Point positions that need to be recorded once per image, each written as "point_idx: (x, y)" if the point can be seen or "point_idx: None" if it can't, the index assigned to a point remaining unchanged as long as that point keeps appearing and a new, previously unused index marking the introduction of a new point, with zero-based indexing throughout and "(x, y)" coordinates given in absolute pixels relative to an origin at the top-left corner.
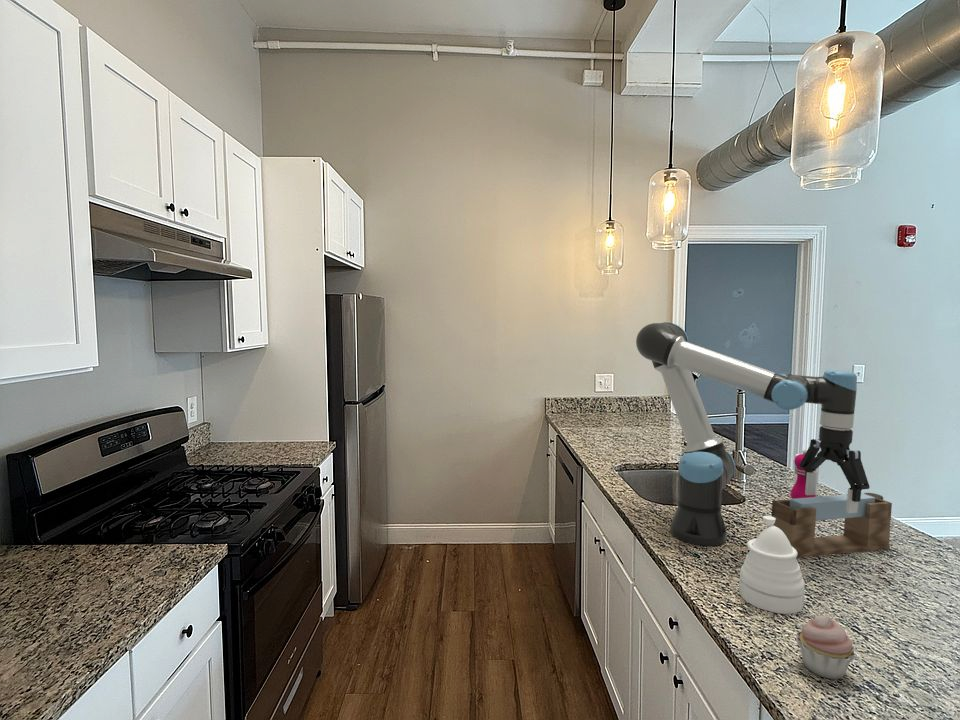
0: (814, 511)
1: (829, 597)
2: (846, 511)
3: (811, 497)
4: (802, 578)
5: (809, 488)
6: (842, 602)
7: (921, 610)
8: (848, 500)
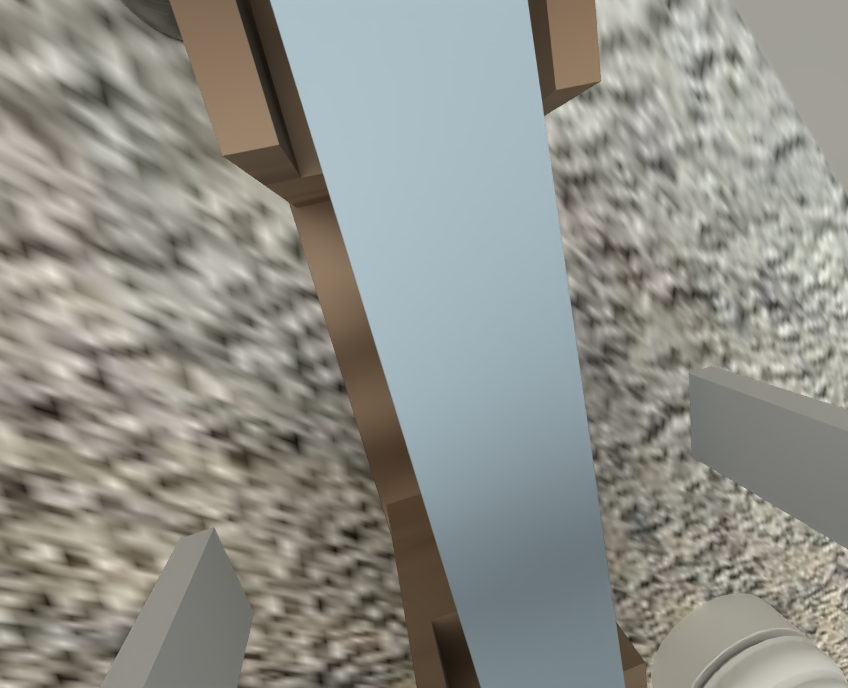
0: (631, 651)
1: (738, 524)
2: (701, 458)
3: (487, 686)
4: (829, 669)
5: (225, 679)
6: (763, 504)
7: (839, 317)
8: (838, 527)
